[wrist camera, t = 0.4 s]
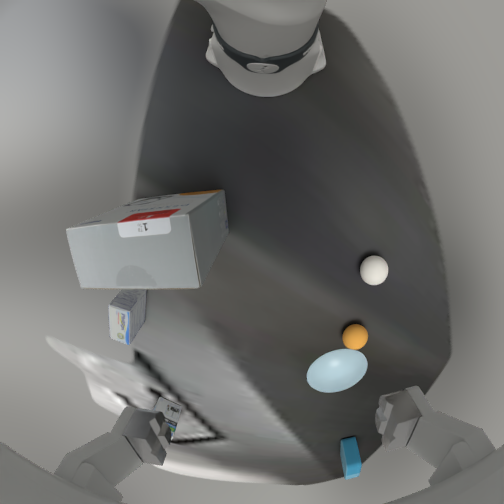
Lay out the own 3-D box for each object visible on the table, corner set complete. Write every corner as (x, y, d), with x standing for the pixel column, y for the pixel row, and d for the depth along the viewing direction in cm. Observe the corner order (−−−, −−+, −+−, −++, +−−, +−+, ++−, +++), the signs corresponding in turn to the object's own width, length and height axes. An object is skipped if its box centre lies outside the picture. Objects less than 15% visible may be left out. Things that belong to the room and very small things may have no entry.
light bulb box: (159, 395, 60) (147, 426, 50) (183, 406, 61) (174, 437, 51) (151, 412, 64) (140, 440, 53) (172, 422, 64) (163, 450, 54)
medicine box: (128, 282, 49) (107, 304, 41) (148, 288, 49) (129, 312, 41) (127, 314, 52) (108, 338, 43) (146, 320, 52) (129, 346, 44)
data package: (353, 449, 68) (358, 477, 57) (340, 452, 68) (344, 480, 57) (354, 434, 64) (362, 465, 53) (340, 437, 65) (346, 468, 53)
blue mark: (313, 348, 52) (313, 348, 52) (375, 348, 52) (375, 348, 51) (301, 392, 57) (301, 392, 56) (356, 390, 56) (356, 391, 56)
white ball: (359, 250, 44) (369, 261, 40) (384, 252, 44) (395, 263, 40) (353, 276, 46) (362, 289, 41) (378, 278, 46) (388, 290, 41)
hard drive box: (225, 187, 42) (192, 214, 23) (229, 234, 45) (204, 292, 26) (136, 197, 43) (63, 229, 24) (143, 240, 46) (80, 292, 27)
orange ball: (343, 318, 49) (349, 334, 45) (366, 319, 49) (374, 334, 44) (337, 339, 51) (342, 355, 46) (359, 339, 51) (366, 354, 46)
